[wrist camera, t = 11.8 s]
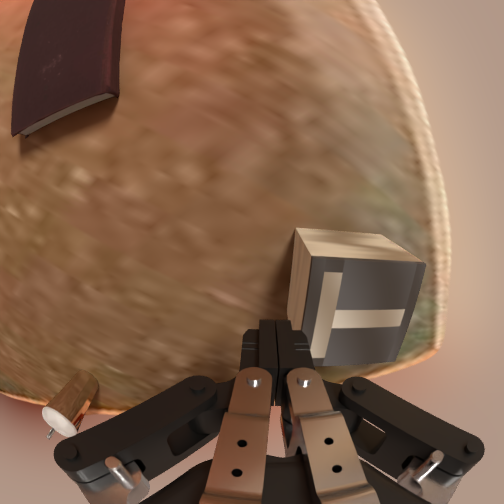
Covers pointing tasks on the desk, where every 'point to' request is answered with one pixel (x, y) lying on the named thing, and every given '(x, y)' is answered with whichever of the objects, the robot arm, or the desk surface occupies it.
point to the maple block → (352, 295)
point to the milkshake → (70, 404)
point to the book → (66, 60)
